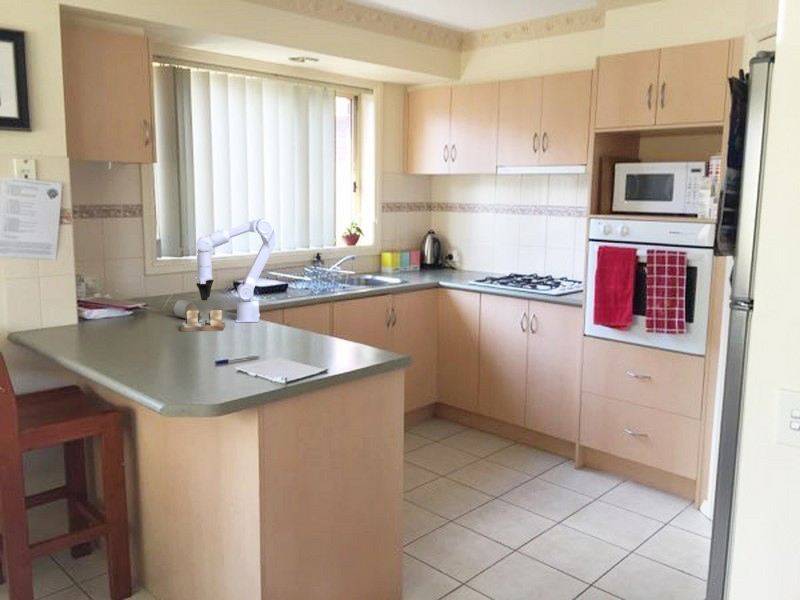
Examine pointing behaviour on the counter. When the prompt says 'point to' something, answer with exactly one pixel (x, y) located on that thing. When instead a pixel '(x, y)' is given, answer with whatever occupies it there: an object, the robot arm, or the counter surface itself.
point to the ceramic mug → (184, 308)
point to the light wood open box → (215, 324)
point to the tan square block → (193, 317)
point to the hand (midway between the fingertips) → (205, 298)
